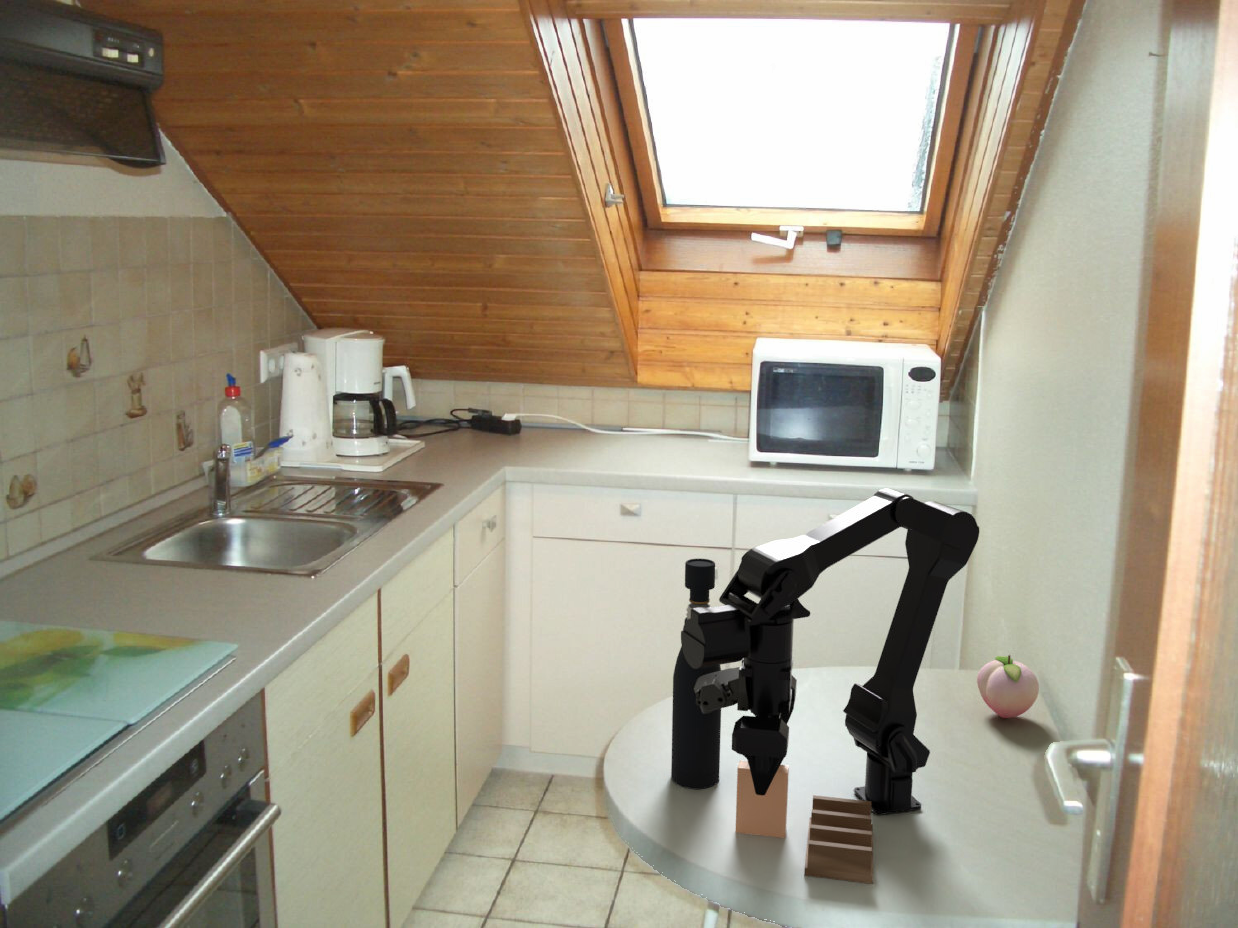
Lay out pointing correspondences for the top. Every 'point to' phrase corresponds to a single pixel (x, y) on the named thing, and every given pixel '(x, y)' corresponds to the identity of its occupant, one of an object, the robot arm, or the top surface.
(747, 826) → the block
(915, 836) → the top surface
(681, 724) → the wine bottle
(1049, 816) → the top surface
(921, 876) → the top surface
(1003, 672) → the decorative fruit
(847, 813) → the rack
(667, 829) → the top surface
